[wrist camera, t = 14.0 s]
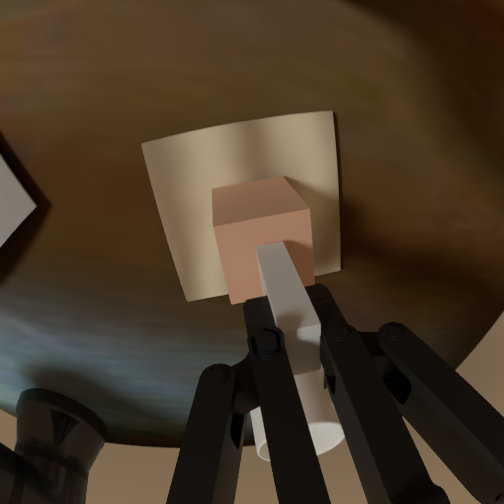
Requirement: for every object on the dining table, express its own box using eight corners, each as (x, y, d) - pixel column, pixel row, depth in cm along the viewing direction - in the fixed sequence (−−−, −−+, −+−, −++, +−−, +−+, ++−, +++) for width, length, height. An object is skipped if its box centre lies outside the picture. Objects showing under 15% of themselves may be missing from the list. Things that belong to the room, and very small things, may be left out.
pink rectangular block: (225, 250, 25) (231, 304, 19) (211, 188, 22) (213, 226, 16) (289, 238, 25) (314, 287, 19) (282, 175, 22) (309, 208, 16)
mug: (354, 346, 34) (389, 418, 25) (272, 394, 36) (289, 468, 27) (319, 306, 30) (358, 391, 21) (227, 365, 33) (237, 451, 23)
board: (187, 297, 27) (187, 301, 27) (142, 142, 21) (141, 143, 20) (338, 267, 28) (340, 270, 27) (329, 110, 21) (332, 110, 21)
